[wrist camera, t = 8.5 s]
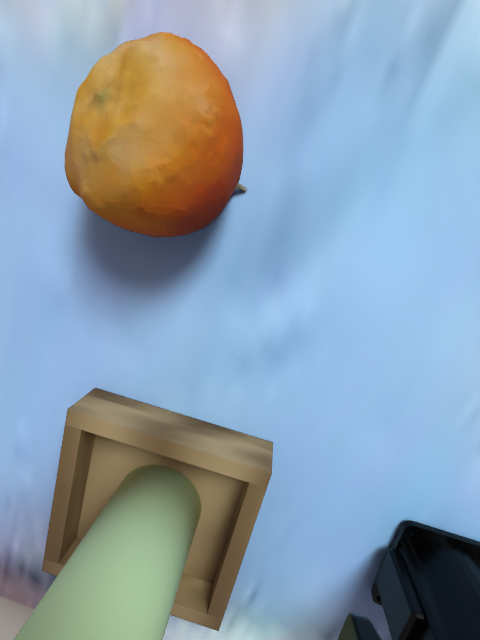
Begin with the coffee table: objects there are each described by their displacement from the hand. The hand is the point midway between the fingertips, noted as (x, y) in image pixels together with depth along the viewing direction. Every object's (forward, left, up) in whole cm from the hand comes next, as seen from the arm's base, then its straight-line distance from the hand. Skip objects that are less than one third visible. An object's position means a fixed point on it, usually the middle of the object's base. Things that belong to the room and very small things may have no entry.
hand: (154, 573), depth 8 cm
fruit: (+6, -10, -14) cm, 18 cm away
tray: (+2, +10, -13) cm, 17 cm away
